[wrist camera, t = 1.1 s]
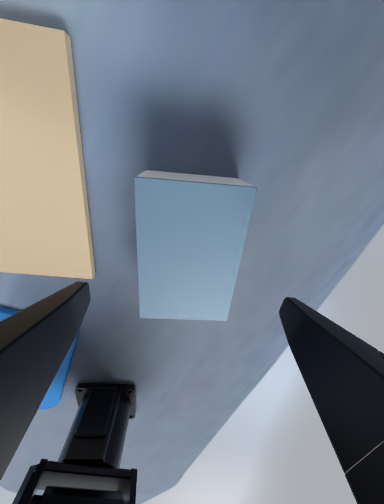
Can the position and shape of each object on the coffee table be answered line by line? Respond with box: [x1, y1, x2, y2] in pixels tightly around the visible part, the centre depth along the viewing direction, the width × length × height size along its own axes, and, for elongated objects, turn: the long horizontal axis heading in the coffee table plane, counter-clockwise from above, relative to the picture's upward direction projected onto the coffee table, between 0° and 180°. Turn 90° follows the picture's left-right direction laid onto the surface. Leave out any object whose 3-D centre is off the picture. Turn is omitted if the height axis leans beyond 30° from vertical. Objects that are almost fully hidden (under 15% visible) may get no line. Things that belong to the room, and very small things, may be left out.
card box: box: [134, 170, 257, 321], centre depth 13 cm, size 9×6×4 cm, turn 175°
